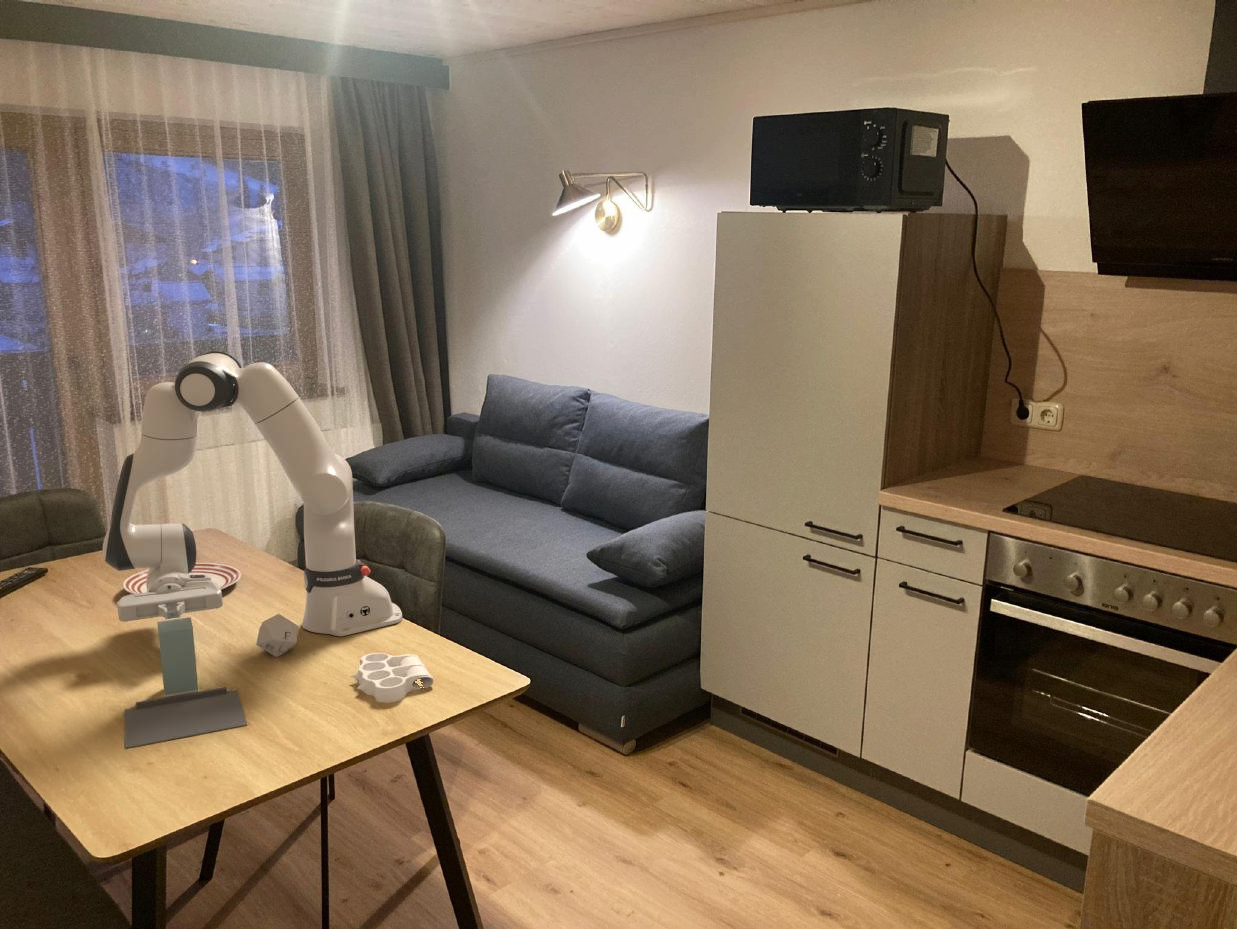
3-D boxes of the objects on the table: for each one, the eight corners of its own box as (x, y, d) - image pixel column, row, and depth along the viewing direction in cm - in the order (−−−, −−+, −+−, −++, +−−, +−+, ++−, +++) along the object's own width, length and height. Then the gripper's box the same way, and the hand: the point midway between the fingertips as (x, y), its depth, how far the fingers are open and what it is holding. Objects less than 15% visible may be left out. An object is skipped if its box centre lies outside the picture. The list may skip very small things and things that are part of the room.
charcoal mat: (237, 690, 195) (237, 684, 194) (247, 725, 181) (246, 719, 180) (124, 710, 186) (123, 704, 186) (125, 748, 172) (124, 742, 172)
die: (252, 663, 208) (273, 633, 205) (246, 632, 214) (266, 602, 210) (289, 667, 214) (309, 637, 210) (282, 636, 219) (301, 607, 216)
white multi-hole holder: (438, 695, 194) (363, 709, 188) (415, 660, 210) (345, 672, 204) (437, 679, 194) (362, 693, 187) (414, 645, 209) (344, 657, 203)
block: (196, 682, 198) (190, 617, 195) (198, 695, 192) (192, 627, 189) (163, 688, 195) (157, 622, 192) (165, 701, 190) (158, 632, 187)
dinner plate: (202, 565, 269) (201, 553, 268) (263, 586, 254) (262, 574, 253) (102, 593, 247) (100, 580, 247) (162, 617, 232) (160, 604, 231)
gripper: (114, 586, 210) (114, 608, 198) (217, 573, 219) (223, 593, 207) (117, 614, 212) (118, 637, 200) (220, 600, 221) (226, 621, 209)
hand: (172, 614), depth 204 cm, fingers closed
